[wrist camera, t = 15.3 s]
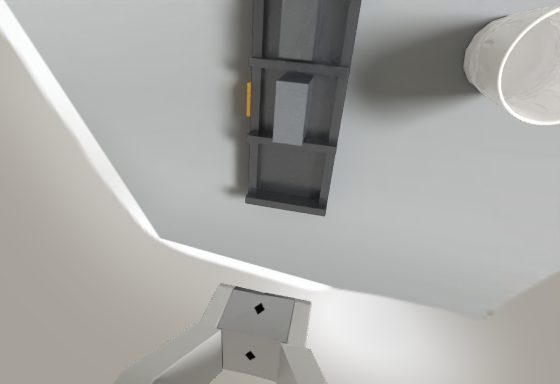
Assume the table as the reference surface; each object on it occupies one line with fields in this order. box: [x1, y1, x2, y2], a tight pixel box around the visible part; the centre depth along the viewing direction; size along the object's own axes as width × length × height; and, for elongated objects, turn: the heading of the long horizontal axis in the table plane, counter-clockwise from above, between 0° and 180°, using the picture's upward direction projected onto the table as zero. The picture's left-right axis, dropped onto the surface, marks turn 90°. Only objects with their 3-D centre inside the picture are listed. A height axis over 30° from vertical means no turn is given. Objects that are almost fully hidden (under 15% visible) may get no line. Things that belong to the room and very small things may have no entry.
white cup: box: [463, 5, 560, 125], centre depth 26 cm, size 8×8×10 cm
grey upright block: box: [273, 73, 314, 146], centre depth 33 cm, size 6×3×5 cm, turn 176°
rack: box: [245, 0, 361, 216], centre depth 33 cm, size 25×10×6 cm, turn 176°
